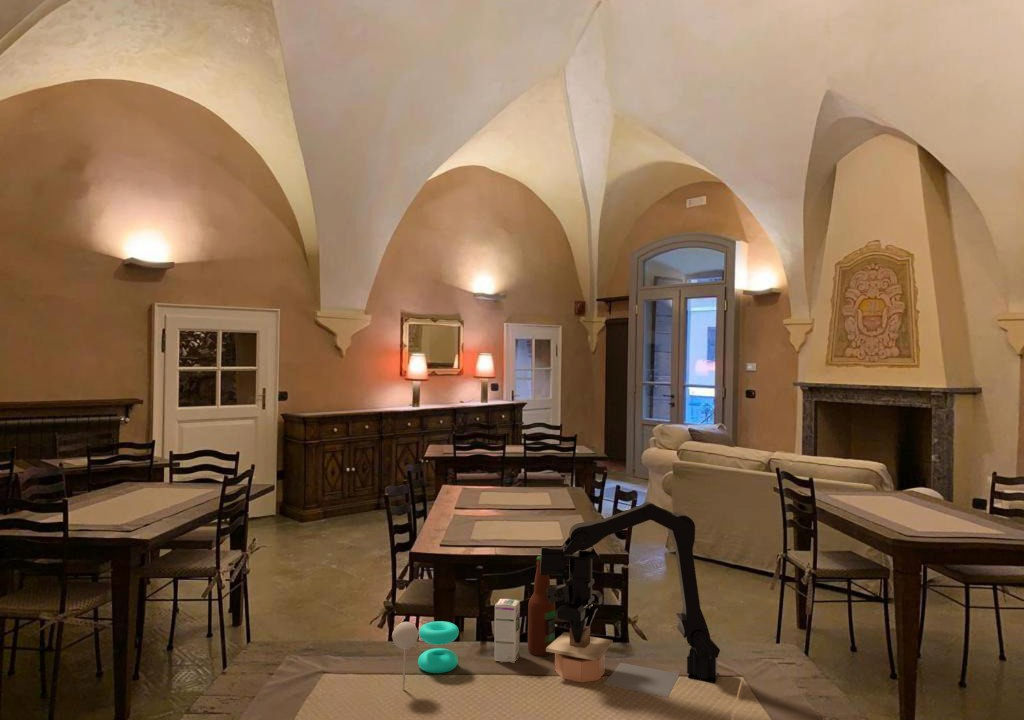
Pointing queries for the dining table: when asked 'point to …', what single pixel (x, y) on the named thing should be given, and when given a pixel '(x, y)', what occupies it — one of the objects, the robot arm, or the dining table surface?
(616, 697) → the dining table surface
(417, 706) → the dining table surface
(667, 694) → the mat
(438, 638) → the donuts
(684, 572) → the robot arm
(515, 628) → the syrup box
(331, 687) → the dining table surface
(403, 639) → the lollipop
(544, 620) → the bottle
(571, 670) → the bowl
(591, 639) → the lid
